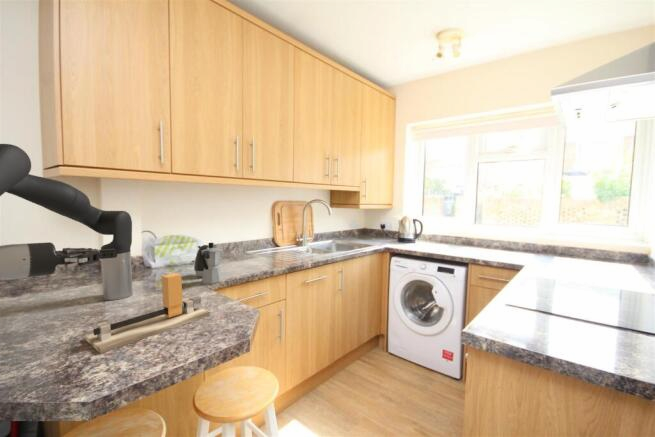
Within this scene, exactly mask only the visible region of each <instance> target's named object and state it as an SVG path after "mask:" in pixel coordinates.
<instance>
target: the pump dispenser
mask: <svg viewBox="0 0 655 437" xmlns="http://www.w3.org/2000/svg"><path fill="white" fill-rule="evenodd" d="M197 247H198V250H197V252H196V256H195V258H194V266H193V270H194V272H195V274H196V275H197V276H198V277H200V278H203V271H204V265H203V262H202V260H201V259H202V252H201V251H202V250H205V249H208V248H209V245H207V244H203V245H197Z"/></svg>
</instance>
